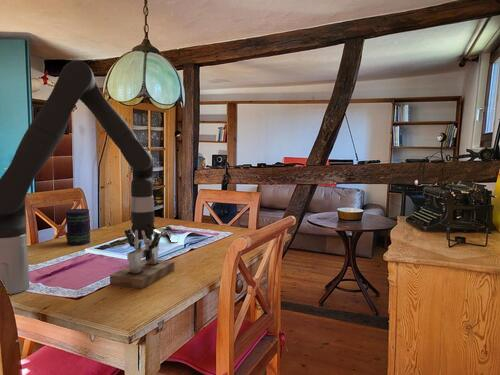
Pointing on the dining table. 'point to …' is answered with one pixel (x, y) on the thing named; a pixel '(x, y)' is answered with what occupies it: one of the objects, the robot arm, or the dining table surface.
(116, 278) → the brown block with holes
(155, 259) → the grey arch block
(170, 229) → the hand tool
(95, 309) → the dining table surface
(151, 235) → the robot arm
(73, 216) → the storage jar
